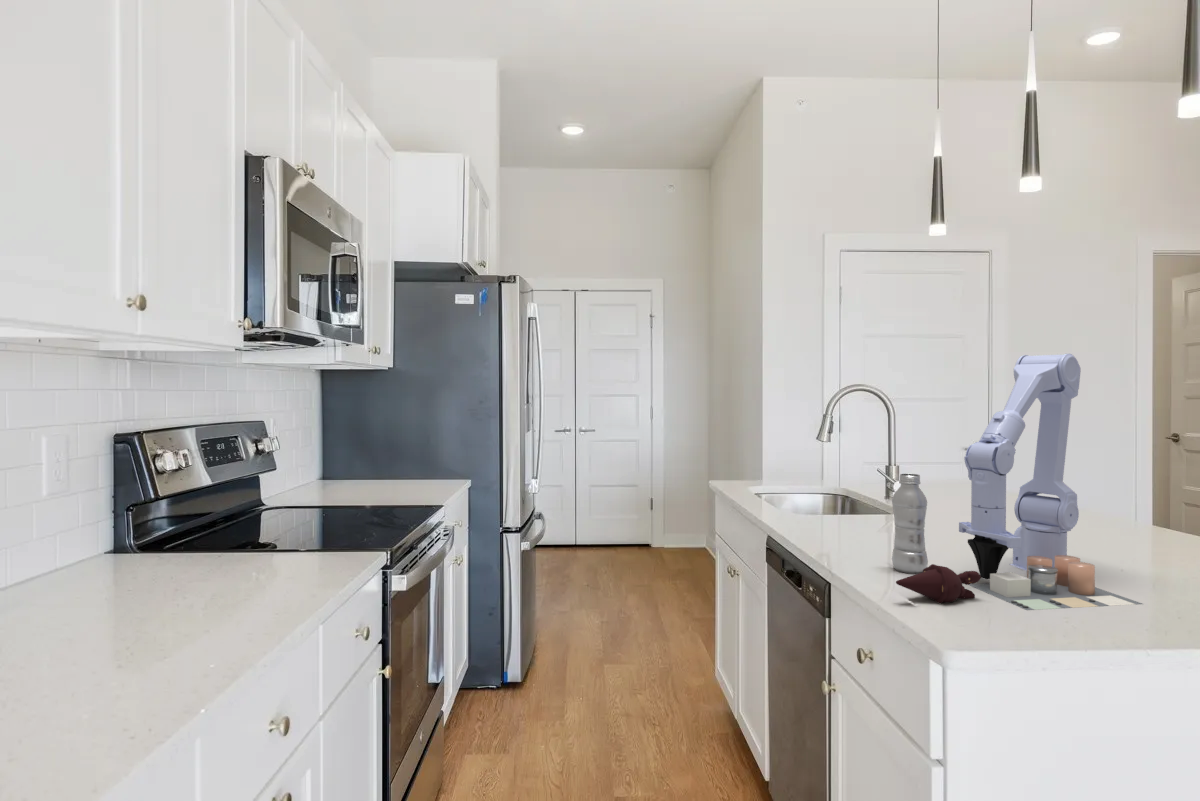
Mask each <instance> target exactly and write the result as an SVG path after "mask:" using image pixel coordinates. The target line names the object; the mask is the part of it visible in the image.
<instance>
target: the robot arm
mask: <svg viewBox="0 0 1200 801" xmlns="http://www.w3.org/2000/svg"><path fill="white" fill-rule="evenodd" d="M1013 376H1014V377H1013V378H1014V385H1013V387H1012V390H1011V392H1010V394H1009V396H1008V399H1007V401H1006V404H1005V406H1004V409H1003V410H1001V411H996V412H995V413H994V414H993V416H991V419H990V421H989V423H988V424H987V426H986V428H985V429H984V431H983V432H982V435H981V437H980V438H979V440H978V441H975V442H974V443H972V444H970V445H969V446H968V447H967V449H966V452H965V456H964V458H963V459H964V460H963V461H964V465H965V467H966V469H967V472H968V473H967V475H968V476H967V477H968V479H969V481H971V485H970V486H971V496H970V497H971V498H970V499H971V501H970V503H971V505H970V506H971V508H970V510H971V513H970V516H971V517H970V519H971V520H970V521H959V522H958V532H959V533H965V534H969V535H971V536H974V537H973V538H969V539H967V544H968V546H969V548H970V549H971V551H972V553H973V555H974V558H975V562H976V564H977V569H978V573H979V574H980V576H981V579H984V580H990V574H992V573H998V570H999V567H1000V564H1001V561H1002V560H1003V557H1004V555H1005V554H1006V552H1007V551H1008V550H1009V549H1012V563H1009V564H1008V565H1009V566H1013V567H1015V568H1018V569H1020V570H1023V571H1026V572H1027V556H1043V557H1048V558H1051V559H1052V567H1055V556H1056V555H1068V532H1071V531H1072V530H1073V528H1075V527H1076V525H1077V523H1078V521H1079V516H1080V514H1079V513H1080V512H1079V511H1080V510H1079V508H1078V494H1077V493H1076V492H1075V491H1074V490H1073V489H1072V488H1071V487H1069V486H1068V485H1067V484H1066V483H1064V474H1065V465H1066V464H1065V462H1066V455H1067V454H1066V453H1067V446H1068V445H1067V444H1068V438H1069V437H1068V435H1069V426H1070V416H1071V408H1072V399H1074V398H1076V397H1078V395H1079V389H1080V381H1081V366H1080V363H1079V361H1078V359H1077V357H1075V356H1074V354H1073V353H1065V354H1041V355H1039V354H1037V355H1035V354H1034V355H1028V354H1023V355H1021V356H1019V357H1018V359H1017V360H1016V362H1015V365H1014V367H1013ZM1036 399H1037V400H1039V402H1040V412H1039V420H1038V421H1039V422H1038V432H1037V440H1036V447H1035V448H1036V449H1035V456H1034V458H1035V459H1034V465H1033V466H1034V469H1033V475H1032V476H1033V477H1032V479H1031V480H1029V481H1027V482H1026V483H1024V484H1022V485H1021V486H1020V487H1019V492H1018V495H1017V498H1016V500H1015V503H1014V514H1015V517H1016V520H1017V521H1018V522H1019V523H1020V526H1018V527H1017V528H1016V530H1014V533H1011V532H1010V531H1008V530H1007V475H1008V474H1009V472H1011V470H1012V469H1013V466H1014V463H1015V455H1016V446H1017V444H1018V441H1019V439H1020V438H1021V436H1022V433H1023V432H1024V430H1025V429H1026V422H1025V421H1024V419H1023V418H1024V417H1025V415H1026V414H1027V412H1028V411H1029V409H1030V408H1031V407H1032V406H1033V404H1034V402H1035V401H1036ZM1039 494H1044V495H1039ZM1045 495H1052V496H1045ZM1053 496H1054V497H1053ZM1055 496H1056V497H1055Z"/></svg>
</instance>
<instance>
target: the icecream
mask: <svg viewBox="0 0 1200 801" xmlns="http://www.w3.org/2000/svg"><path fill="white" fill-rule="evenodd" d="M981 579H982V578H981V576H980V573H979V571H975V570H966V571H963V572H961V573H959V574H957V573H956V572H955V571H954V570H953V569H951V568H949V567H947V566H943V565H938V564H934V563H932V564H931V565H929V566H927V568H925V569H924V570H923V572H922V573H919V574H913V575H911V576H907V577H904V578H901V579H898V580H896V581H895V584H896V585H898V586H900V587H902V588H905V589H908V590H911V591H912V592H915V593H916V594H919V595H922V596H924V597H926V598H928V599H929V600H933V601H935V602H936V603H937V604H942V603H943V604H944V603H953V602H955V601H956V600H958V599H961V600H962V599H965V600H966V599H967V600H968V599H975V598H976V594H975V593H974V592H973V591H972V590H969V589H968V588H965V586H964V585H967V586H969V585H968V584H977V583H978V582H979V581H980V580H981Z"/></svg>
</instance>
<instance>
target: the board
mask: <svg viewBox="0 0 1200 801" xmlns="http://www.w3.org/2000/svg"><path fill="white" fill-rule="evenodd" d="M967 586H970V587H972V588H974V589H976V590H979V591H981V592H983V593H986V594H988V595H991V596H993V597H994V598H998V599H1000V600H1002V601H1004V602H1006V603H1008V604H1011V605H1013V606H1016V607H1018V608H1020V609H1023V610H1026V611H1037V610H1038V611H1041V610H1056V609H1075V608H1095V607H1096V608H1097V607H1113V606H1132V605H1133V606H1134V605H1135V606H1136V605H1144V603H1142V602H1140V601H1136V600H1134V599H1131V598H1127V597H1125V596H1122V595H1119V594H1117V593H1113V592H1110V591H1107V590H1105V589H1101V588H1098V587H1096V586H1095V594H1094V595H1079V594H1074V593H1071V592H1069V591H1068V587H1066V586H1061V585H1057V594H1055V595H1043V594H1037V593H1033V592H1031V596H1023V597H1006V596H1003V595H1001V594H998V593H996V592H994V591H991V590H990V582H989V583H973V584H968V585H967Z"/></svg>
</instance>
